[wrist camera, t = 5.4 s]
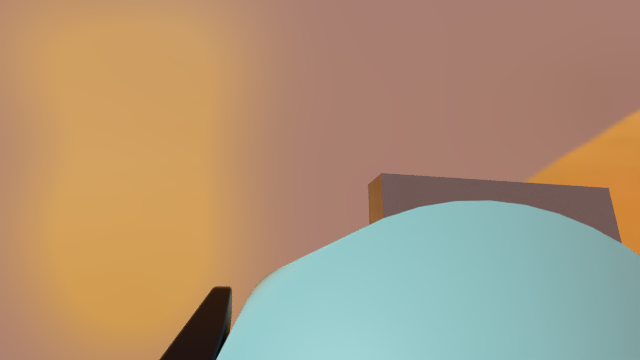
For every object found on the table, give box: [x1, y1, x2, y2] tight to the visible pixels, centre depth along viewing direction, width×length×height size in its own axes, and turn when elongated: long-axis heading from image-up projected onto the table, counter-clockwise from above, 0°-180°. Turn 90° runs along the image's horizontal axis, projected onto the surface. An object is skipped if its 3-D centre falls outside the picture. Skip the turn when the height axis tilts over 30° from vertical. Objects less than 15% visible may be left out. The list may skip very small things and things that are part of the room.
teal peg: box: [216, 201, 640, 360], centre depth 8 cm, size 5×5×13 cm
